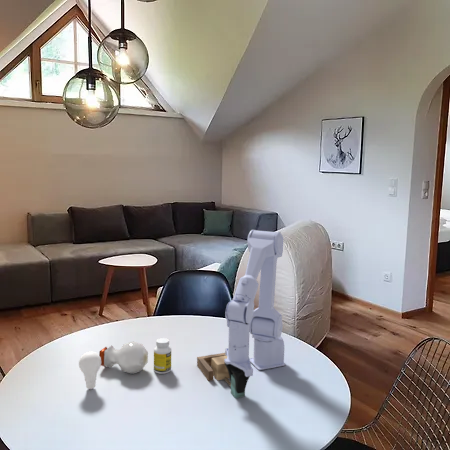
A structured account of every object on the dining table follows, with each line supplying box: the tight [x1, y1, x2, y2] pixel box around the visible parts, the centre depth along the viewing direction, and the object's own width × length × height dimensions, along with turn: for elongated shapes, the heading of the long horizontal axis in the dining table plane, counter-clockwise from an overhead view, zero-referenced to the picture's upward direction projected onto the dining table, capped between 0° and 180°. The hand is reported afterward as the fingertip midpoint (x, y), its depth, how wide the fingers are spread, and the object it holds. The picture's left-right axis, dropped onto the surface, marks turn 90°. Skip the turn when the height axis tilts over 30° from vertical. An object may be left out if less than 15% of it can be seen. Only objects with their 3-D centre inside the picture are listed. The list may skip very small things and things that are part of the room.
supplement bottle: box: [153, 337, 172, 375], centre depth 141 cm, size 5×5×10 cm
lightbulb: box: [78, 351, 102, 390], centre depth 129 cm, size 6×6×11 cm
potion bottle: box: [98, 341, 149, 375], centre depth 141 cm, size 9×10×15 cm
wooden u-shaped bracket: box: [196, 352, 226, 382], centre depth 142 cm, size 10×10×3 cm
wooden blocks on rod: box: [210, 356, 246, 399], centre depth 134 cm, size 5×16×6 cm, turn 22°
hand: (237, 389), depth 128 cm, fingers closed on wooden blocks on rod, 3 cm apart
